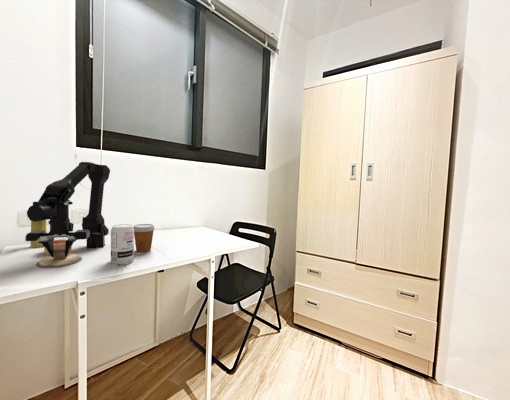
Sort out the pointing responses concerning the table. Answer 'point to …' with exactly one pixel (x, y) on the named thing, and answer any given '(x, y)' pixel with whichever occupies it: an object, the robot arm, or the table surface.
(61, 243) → the bowl
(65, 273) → the table surface
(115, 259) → the supplement can
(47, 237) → the robot arm
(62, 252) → the lid
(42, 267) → the mat
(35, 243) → the vase
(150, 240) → the disposable coffee cup
